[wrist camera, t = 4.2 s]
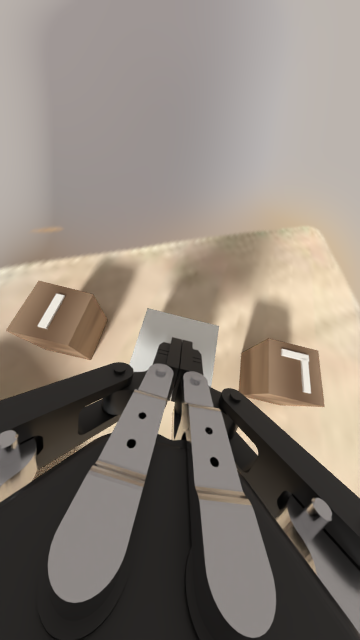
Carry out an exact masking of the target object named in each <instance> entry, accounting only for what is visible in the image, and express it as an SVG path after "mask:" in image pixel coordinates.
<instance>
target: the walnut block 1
mask: <svg viewBox="0 0 360 640" xmlns="http://www.w3.org/2000/svg"><path fill="white" fill-rule="evenodd" d="M106 323H107V318H106V316H105V315H104V313H103V311H102V309H101V307H100V306H99V304H98V302H97V300H96V299H95V297H94V295H93V294H90V293H86V292H82V291H78V290H74V289H70V288H66V287H62V286H58V285H54V284H50V283H46V282H42V281H38V283H37V284H36V286H35V287H34V289H33V290H32V292H31V293H30V295H29V296H28V298H27V299H26V301H25V302H24V304H23V305H22V307H21V308H20V310H19V311H18V313H17V314H16V316H15V318H14V319H13V321H12V322H11V324H10V325H9V327H8V328H7V330H6V331H8V332H10V333H12V334H14V335H16V336H18V337H20V338H23V339H25V340H27V341H29V342H31V343H33V344H35V345H37V346H39V347H41V348H44V349H46V350H50V351H54V352H58V353H63V354H67V355H71V356H75V357H80V358H84V359H88V360H91V359H92V356H93V354H94V351H95V349H96V347H97V344H98V342H99V339H100V337H101V335H102V332H103V330H104V327H105V325H106Z"/></svg>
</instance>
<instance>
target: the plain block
mask: <svg viewBox="0 0 360 640" xmlns="http://www.w3.org/2000/svg"><path fill="white" fill-rule="evenodd" d="M218 330H219V326H217V325H213V324H209V323H205V322H201V321H197V320H193V319H189V318H185V317H181V316H177V315H173V314H169V313H165V312H161V311H157V310H153V309H149V308H147V312H146V315H145V318H144V321H143V324H142V327H141V330H140V333H139V336H138V339H137V342H136V345H135V349H134V352H133V355H132V358H131V361H130V364H129V365H130V366H131V367H132V368H133V371H134V372H143V371H146V370H148V369H149V367H150V366H151V365H153V362H154V359H155V356H156V353H157V350H158V347H159V345H160V344H161V343H163V342H166V343H170V344H171V340H172V337H174V338H178V339H182V340H187V341H191V342H193V349H195V350H198V351H199V352H200V353H201V356H202V366H203V376H204V377H205V378H206V379H207V381H208V385H209V386H210V387H211V384H212V376H213V368H214V361H215V353H216V345H217V338H218ZM171 396H172V395H171ZM170 399H171V398H170Z"/></svg>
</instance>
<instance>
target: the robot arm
mask: <svg viewBox="0 0 360 640" xmlns="http://www.w3.org/2000/svg"><path fill="white" fill-rule="evenodd" d="M171 395H172V396H171ZM170 398H171V401H173V402H175V406H174V409H173V413H172V440H169V439H167V438H165V437H163V436H161V435H159V434H158V430H159V427H160V423H161V419H162V416H163V412H164V408H165V407H166V404H167V401H170ZM99 399H101V400H99ZM97 400H99V401H97ZM95 401H97V402H95ZM93 402H95V403H93ZM91 403H93V404H91ZM89 404H90V405H89ZM87 405H88V406H87ZM85 406H86V407H85ZM116 422H117V424H116V426H115V428H114V430H113V432H112V433H110V434H107V435H104V436H101V437H99V438H97V439H95V440H94V441H92V442H90V443H89V444H87V445H86V446H84V447H83V448H81V449H80V450H78V451H77V452H75V453H74V454H72V455H71V456H69V457H68V458H66V459H65V460H63V461H62V462H60V463H59V464H57V465H56V466H54V467H53V468H51V469H50V470H48V471H47V472H45V473H44V474H42V475H41V476H39V477H38V478H36V479H35V480H33V478H34V476H35V474H36V472H37V470H38V469H40V468H42V467H43V466H45V465H47V464H48V463H50V462H52V461H53V460H55V459H57V458H58V457H60V456H62V455H63V454H65V453H67V452H68V451H70V450H71V449H73V448H75V447H76V446H78V445H80V444H81V443H83V442H85V441H86V440H88V439H90V438H91V437H93V436H95V435H96V434H98V433H100V432H101V431H103V430H105V429H106V428H108V427H109V426H111V425H113V424H114V423H116ZM238 427H239V428H240V429H241V430H242V431H243V432H244V433H245V434H246V435H247V436H248V437H249V438H250V440H251V441H252V442H253V443H254V444H255V445H256V447H257V449H258V455H257V454H256V453H255V452H254V451H253V450H252V449H251V448H250V447H249V446H248V444H247V443H246V442H245V441H244V440H243V439H242V438H241V437H240V436H239V434H238V433H237V432H236V430H237V428H238ZM32 480H33V481H32ZM31 481H32V482H31ZM0 640H360V498H359V497H358V496H356V495H355V494H354V493H353V492H352V491H351V490H350V489H349V488H347V487H346V486H345V485H344V484H343V483H342V482H341V481H340V480H339V479H337V478H336V477H335V476H334V475H333V474H332V473H331V472H330V471H328V470H327V469H326V468H325V467H324V466H323V465H322V464H321V463H319V462H318V461H317V460H316V459H315V458H314V457H313V456H312V455H310V454H309V453H308V452H307V451H306V450H305V449H304V448H303V447H301V446H300V445H299V444H298V443H297V442H296V441H295V440H294V439H292V438H291V437H290V436H289V435H288V434H287V433H286V432H285V431H283V430H282V429H281V428H280V427H279V426H278V425H277V424H276V423H274V422H273V421H272V420H271V419H270V418H269V417H268V416H267V415H265V414H264V413H263V412H262V411H261V410H260V409H259V408H258V407H256V406H255V405H254V404H253V403H252V402H251V401H250V400H249V399H247V398H246V397H245V396H244V395H243V394H242V393H240V392H239V391H237V390H235V389H231V388H227V389H224V390H223V391H222V393H221V392H219V391H217V390H215V389H213V388H211V387H210V386H209V385H208V381H207V379H206V378H205V377H204V376H203V366H202V356H201V353H200V352H199V351H198V350H195V349H193V342H191V341H187V340H182V339H178V338H174V337H172V340H171V344H170V343H166V342H163V343H161V344H160V345H159V347H158V350H157V353H156V356H155V359H154V362H153V365H151V366H150V367H149V369H148V370H146V371H143V372H134V371H133V368H132V367H131V366H130V365H128V364H126V363H120V362H118V363H112V364H109V365H106V366H103V367H100V368H97V369H94V370H91V371H88V372H85V373H82V374H79V375H76V376H73V377H70V378H67V379H64V380H61V381H58V382H55V383H52V384H49V385H46V386H43V387H40V388H37V389H34V390H31V391H28V392H25V393H22V394H19V395H16V396H13V397H10V398H7V399H4V400H1V401H0Z"/></svg>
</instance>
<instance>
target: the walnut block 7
mask: <svg viewBox="0 0 360 640" xmlns="http://www.w3.org/2000/svg"><path fill="white" fill-rule="evenodd" d="M239 392H240V393H242V394H243V395H244V396H245V397H248V398H252V399H256V400H261V401H265V402H269V403H273V404H277V405H288V406H315V407H324V398H323V389H322V381H321V372H320V363H319V354H318V351H317V350H313V349H309V348H305V347H301V346H297V345H293V344H289V343H285V342H281V341H277V340H273V339H267V340H265V341H263V342H261V343H259V344H257V345H255V346H254V347H252V348H250V349H248V350H246V351H244V352H242V353H241V367H240V381H239Z"/></svg>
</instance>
